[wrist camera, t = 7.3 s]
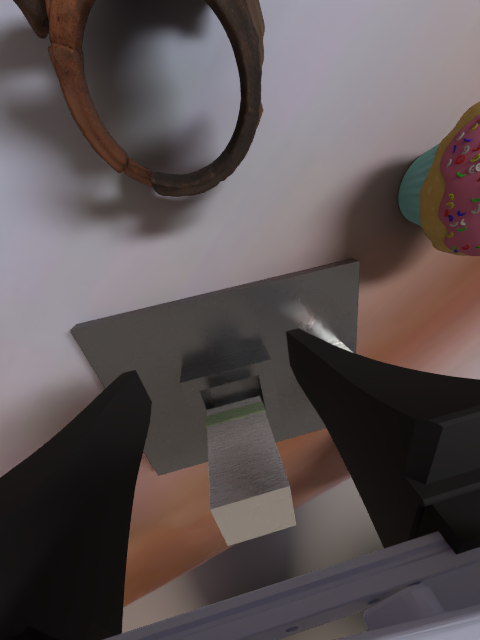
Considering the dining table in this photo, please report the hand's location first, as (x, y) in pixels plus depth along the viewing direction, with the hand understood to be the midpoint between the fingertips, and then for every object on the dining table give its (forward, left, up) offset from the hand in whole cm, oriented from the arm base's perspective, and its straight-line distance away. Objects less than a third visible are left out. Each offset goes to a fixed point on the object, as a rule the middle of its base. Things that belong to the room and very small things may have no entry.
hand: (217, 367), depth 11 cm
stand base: (-8, 0, -8) cm, 11 cm away
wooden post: (-8, 0, -4) cm, 9 cm away
